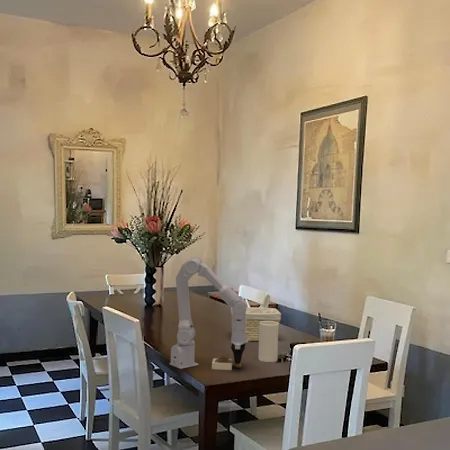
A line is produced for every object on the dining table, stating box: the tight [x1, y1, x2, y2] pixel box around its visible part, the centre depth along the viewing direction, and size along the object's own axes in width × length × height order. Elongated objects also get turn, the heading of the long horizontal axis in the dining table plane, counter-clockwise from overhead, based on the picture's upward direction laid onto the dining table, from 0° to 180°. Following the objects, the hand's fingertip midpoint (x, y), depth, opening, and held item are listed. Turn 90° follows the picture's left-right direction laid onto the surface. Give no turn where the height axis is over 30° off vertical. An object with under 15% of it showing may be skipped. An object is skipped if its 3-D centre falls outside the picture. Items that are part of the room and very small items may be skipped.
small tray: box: [211, 357, 234, 371], centre depth 218 cm, size 8×7×2 cm
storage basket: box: [230, 306, 282, 342], centre depth 270 cm, size 24×16×15 cm
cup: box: [258, 321, 280, 363], centre depth 231 cm, size 8×8×16 cm
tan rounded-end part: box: [217, 354, 242, 368], centre depth 218 cm, size 9×4×6 cm, turn 86°
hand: (237, 362), depth 217 cm, fingers closed on tan rounded-end part, 3 cm apart
